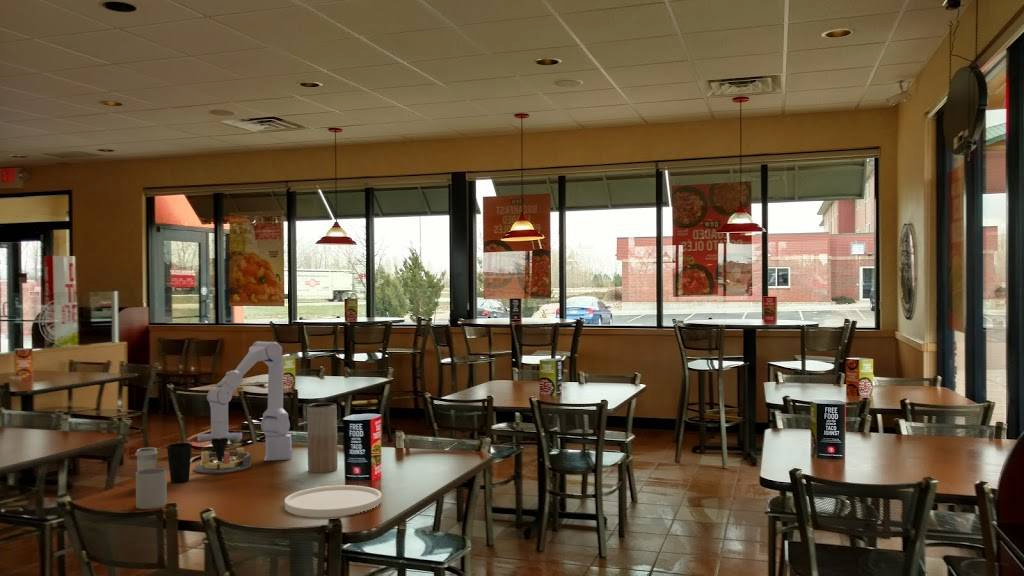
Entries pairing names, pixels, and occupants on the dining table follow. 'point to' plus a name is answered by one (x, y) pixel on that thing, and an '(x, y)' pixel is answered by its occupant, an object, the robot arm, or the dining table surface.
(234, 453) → the round serving tray
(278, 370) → the robot arm
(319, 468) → the planter
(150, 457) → the cup
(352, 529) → the dining table surface
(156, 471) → the cup
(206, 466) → the ring nut
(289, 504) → the plate
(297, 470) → the dining table surface
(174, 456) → the cup
